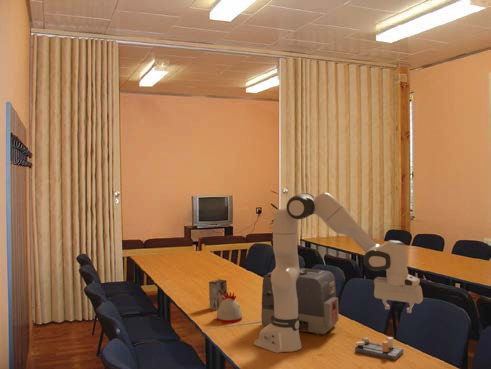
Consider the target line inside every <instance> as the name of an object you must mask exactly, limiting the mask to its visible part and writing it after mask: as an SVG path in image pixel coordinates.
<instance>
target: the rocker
mask: <svg viewBox="0 0 491 369" xmlns="http://www.w3.org/2000/svg"><path fill="white" fill-rule="evenodd" d="M364 344H365V341H363V340H362V341H356V342H355V344H354V345H355V346H358V345H364Z"/></svg>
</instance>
